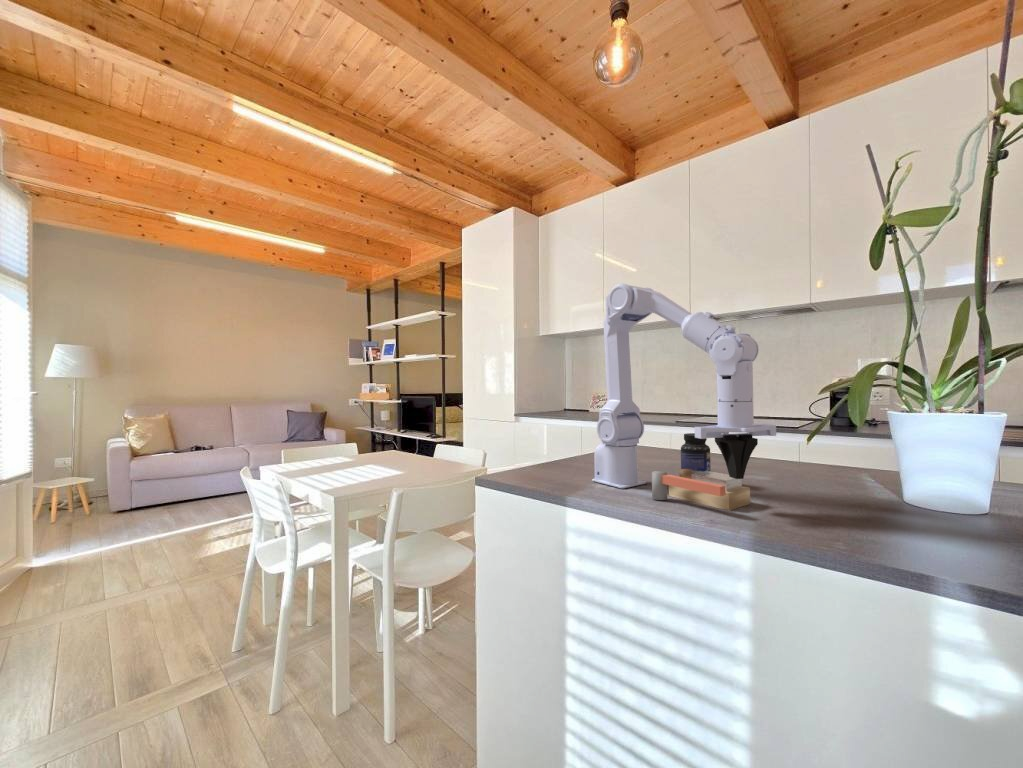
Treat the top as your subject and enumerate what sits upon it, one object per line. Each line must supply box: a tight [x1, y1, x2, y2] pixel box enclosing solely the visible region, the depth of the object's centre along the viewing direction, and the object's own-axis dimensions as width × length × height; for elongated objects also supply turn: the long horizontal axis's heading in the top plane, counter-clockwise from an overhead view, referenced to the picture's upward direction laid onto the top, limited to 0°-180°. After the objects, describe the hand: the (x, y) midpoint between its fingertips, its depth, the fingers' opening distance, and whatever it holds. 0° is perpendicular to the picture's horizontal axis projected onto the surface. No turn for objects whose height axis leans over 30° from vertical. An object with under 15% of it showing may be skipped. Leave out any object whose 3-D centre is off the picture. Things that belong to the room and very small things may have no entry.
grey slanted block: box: [692, 470, 743, 492], centre depth 83 cm, size 7×5×2 cm
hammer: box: [651, 470, 726, 501], centre depth 81 cm, size 14×3×5 cm, turn 33°
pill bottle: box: [680, 432, 712, 474], centre depth 98 cm, size 6×6×11 cm
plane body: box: [668, 468, 751, 511], centre depth 85 cm, size 12×7×5 cm, turn 33°
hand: (736, 477), depth 78 cm, fingers closed
